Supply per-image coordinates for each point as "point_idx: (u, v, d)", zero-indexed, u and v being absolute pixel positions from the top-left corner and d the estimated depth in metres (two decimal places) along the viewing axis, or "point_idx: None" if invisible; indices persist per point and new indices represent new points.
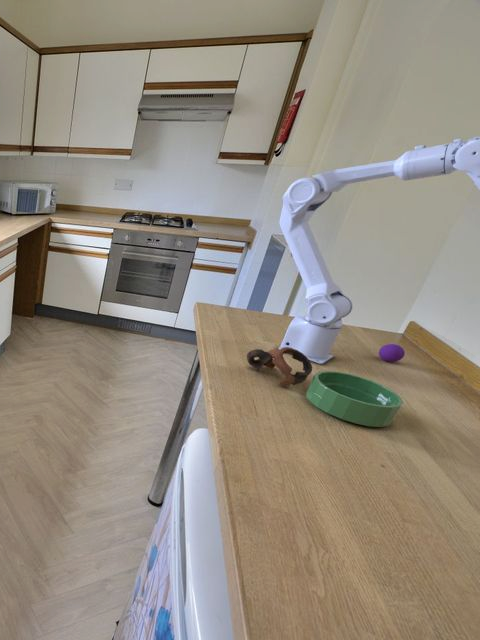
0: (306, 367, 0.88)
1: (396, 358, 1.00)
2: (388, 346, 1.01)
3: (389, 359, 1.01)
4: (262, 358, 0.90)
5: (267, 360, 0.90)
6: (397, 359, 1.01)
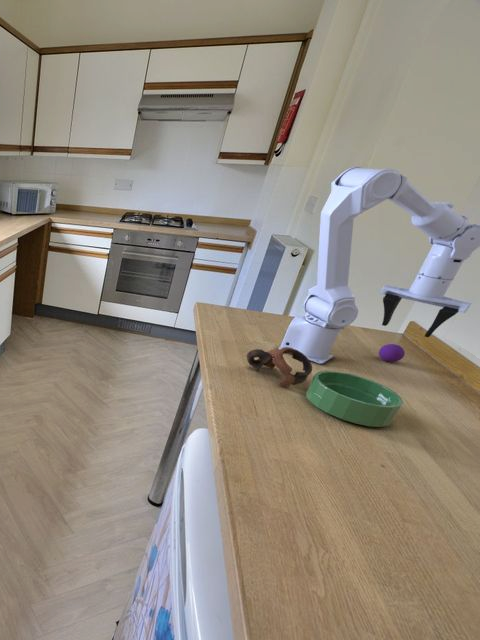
0: (306, 367, 0.88)
1: (396, 358, 1.00)
2: (388, 346, 1.01)
3: (389, 359, 1.01)
4: (262, 358, 0.90)
5: (267, 360, 0.90)
6: (397, 359, 1.01)
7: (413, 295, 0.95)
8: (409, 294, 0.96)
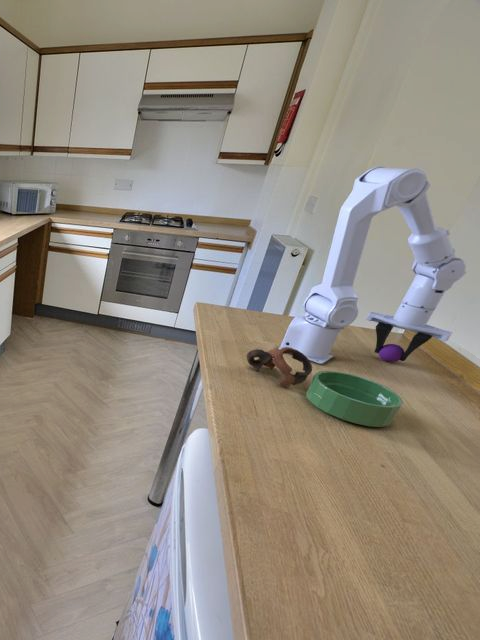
0: (306, 367, 0.88)
1: (396, 358, 1.00)
2: (388, 346, 1.01)
3: (389, 359, 1.01)
4: (262, 358, 0.90)
5: (267, 360, 0.90)
6: (397, 359, 1.01)
7: (397, 323, 0.98)
8: (393, 322, 0.99)
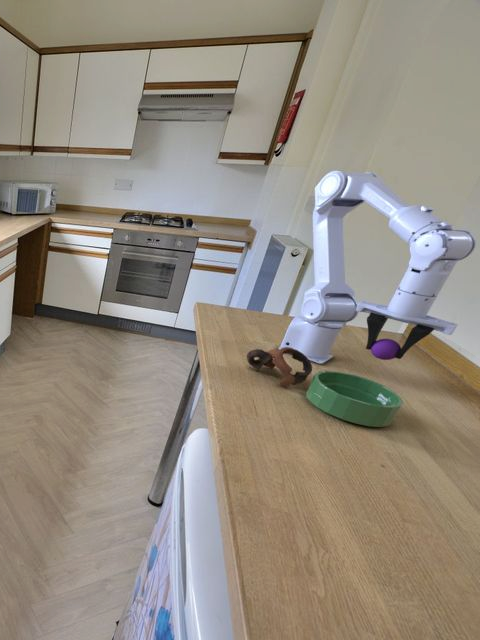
0: (306, 367, 0.88)
1: (391, 355, 0.85)
2: (382, 342, 0.86)
3: (383, 357, 0.86)
4: (262, 358, 0.90)
5: (267, 360, 0.90)
6: (392, 356, 0.85)
7: (392, 313, 0.83)
8: (388, 312, 0.83)
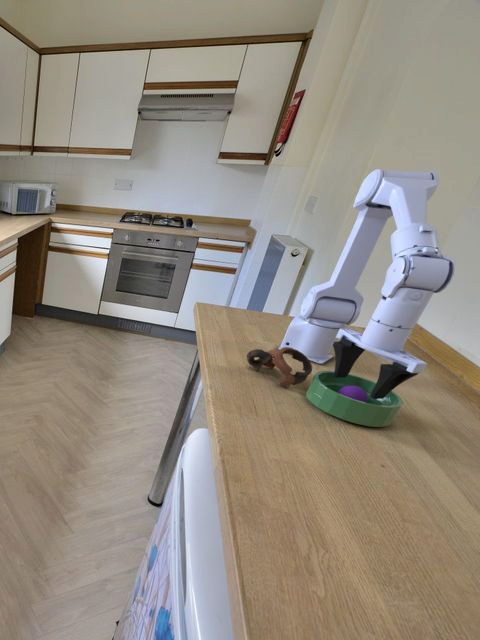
0: (306, 367, 0.88)
1: None
2: (346, 387, 0.80)
3: None
4: (262, 358, 0.90)
5: (267, 360, 0.90)
6: None
7: (359, 342, 0.77)
8: (356, 340, 0.77)
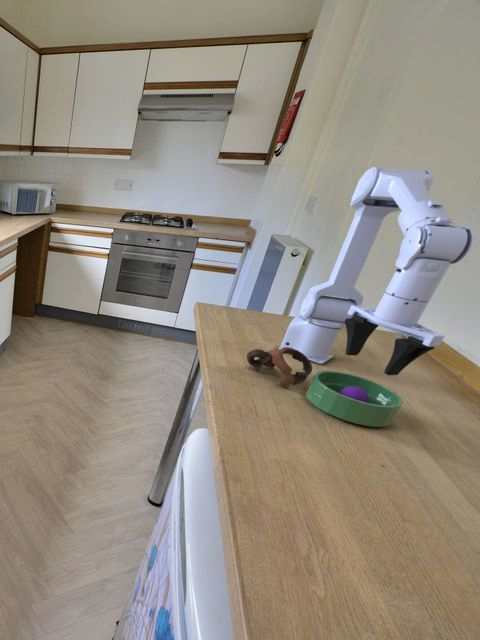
0: (306, 367, 0.88)
1: None
2: (348, 388, 0.80)
3: None
4: (262, 358, 0.90)
5: (267, 360, 0.90)
6: None
7: (372, 317, 0.75)
8: (369, 316, 0.75)
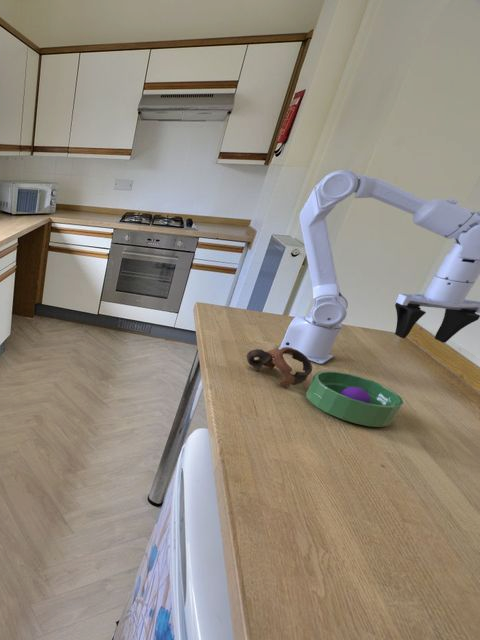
0: (306, 367, 0.88)
1: None
2: (350, 389, 0.80)
3: None
4: (262, 358, 0.90)
5: (267, 360, 0.90)
6: None
7: (445, 303, 0.84)
8: (439, 303, 0.84)
